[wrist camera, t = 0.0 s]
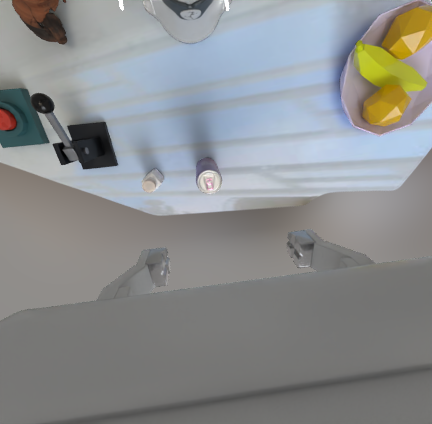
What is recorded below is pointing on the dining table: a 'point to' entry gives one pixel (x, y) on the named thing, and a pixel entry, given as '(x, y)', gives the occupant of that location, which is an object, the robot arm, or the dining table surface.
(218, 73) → the dining table surface
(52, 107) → the lever handle
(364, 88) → the fruit bowl
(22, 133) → the teal base plate
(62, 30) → the brown clay jug
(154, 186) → the pepper shaker
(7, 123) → the button
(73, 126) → the lever stand
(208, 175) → the beverage can
